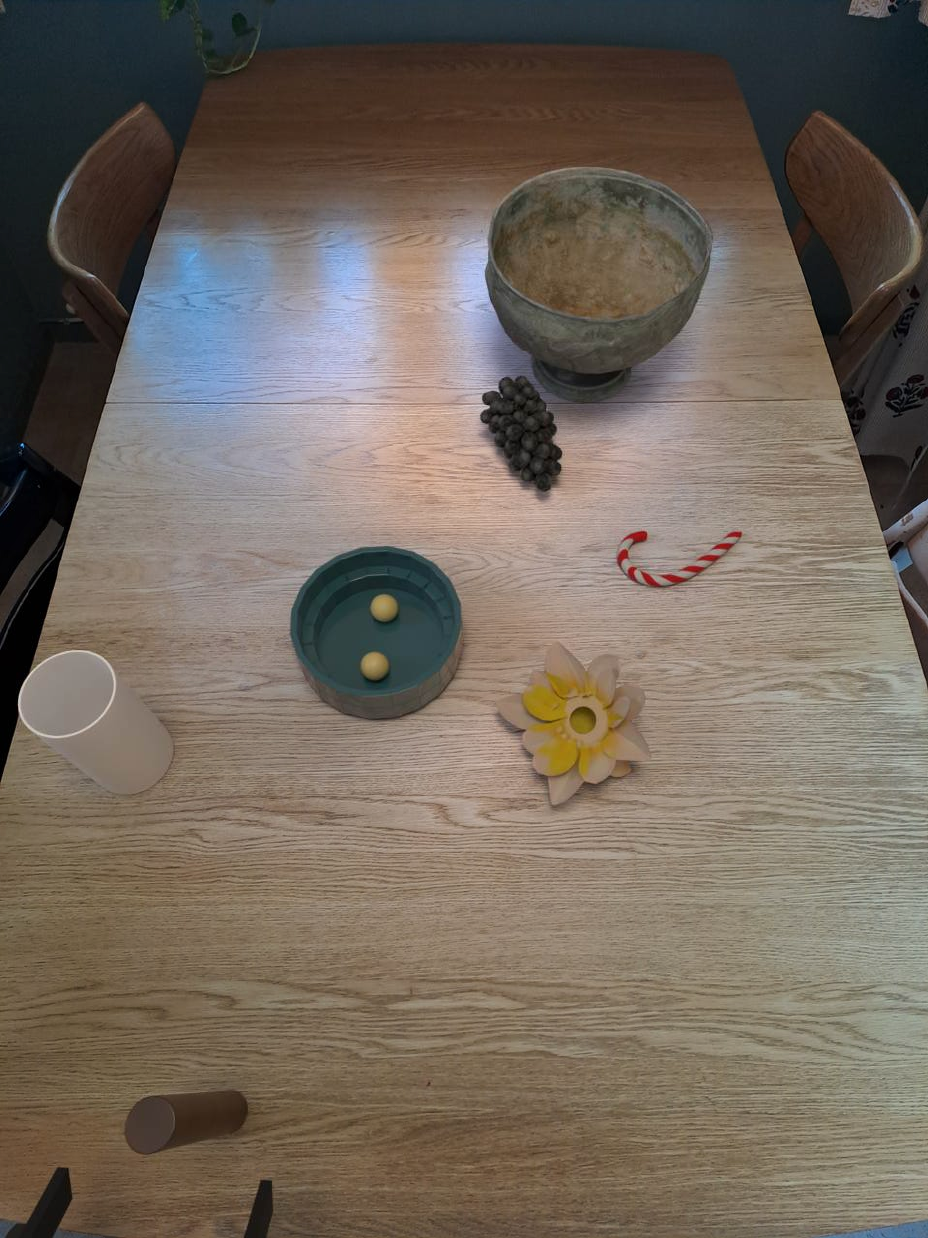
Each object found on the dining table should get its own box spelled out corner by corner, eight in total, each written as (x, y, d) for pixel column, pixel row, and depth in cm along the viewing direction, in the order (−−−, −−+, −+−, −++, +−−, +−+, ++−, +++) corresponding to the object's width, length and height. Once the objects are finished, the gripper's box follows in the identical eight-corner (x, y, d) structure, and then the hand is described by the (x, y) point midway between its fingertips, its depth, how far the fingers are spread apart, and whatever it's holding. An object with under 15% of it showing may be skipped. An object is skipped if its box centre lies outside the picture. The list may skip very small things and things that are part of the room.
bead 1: (382, 631, 91) (380, 618, 88) (366, 612, 92) (363, 599, 90) (404, 616, 92) (402, 602, 89) (388, 598, 93) (386, 584, 90)
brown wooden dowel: (222, 1143, 69) (139, 1167, 52) (202, 1108, 70) (114, 1121, 53) (255, 1115, 70) (185, 1129, 53) (234, 1081, 71) (159, 1084, 54)
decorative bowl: (653, 466, 102) (689, 333, 85) (454, 417, 107) (451, 282, 89) (694, 326, 115) (732, 186, 98) (515, 288, 119) (522, 148, 102)
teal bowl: (363, 753, 85) (356, 730, 80) (270, 636, 92) (257, 607, 86) (494, 656, 91) (496, 628, 85) (397, 551, 97) (392, 518, 91)
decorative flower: (477, 681, 87) (505, 636, 79) (570, 656, 91) (605, 612, 83) (533, 817, 81) (569, 785, 73) (629, 784, 86) (674, 751, 77)
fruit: (570, 451, 92) (528, 353, 99) (501, 481, 94) (464, 382, 100) (584, 489, 100) (544, 396, 107) (520, 517, 101) (485, 423, 108)
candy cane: (757, 551, 95) (639, 593, 93) (753, 557, 96) (637, 599, 94) (722, 499, 99) (608, 539, 96) (719, 506, 100) (606, 545, 97)
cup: (187, 765, 85) (132, 704, 71) (111, 811, 82) (38, 757, 68) (153, 703, 88) (94, 633, 74) (79, 745, 86) (3, 681, 72)
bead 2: (373, 690, 88) (370, 678, 85) (356, 670, 89) (352, 658, 86) (395, 674, 89) (393, 661, 86) (379, 654, 90) (376, 641, 87)
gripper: (-292, 1688, 37) (-12, 1220, 57) (270, 1733, 36) (352, 1243, 57) (-332, 1580, 35) (-26, 1134, 55) (265, 1626, 34) (351, 1157, 54)
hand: (166, 1188), depth 56 cm, fingers open, 13 cm apart
